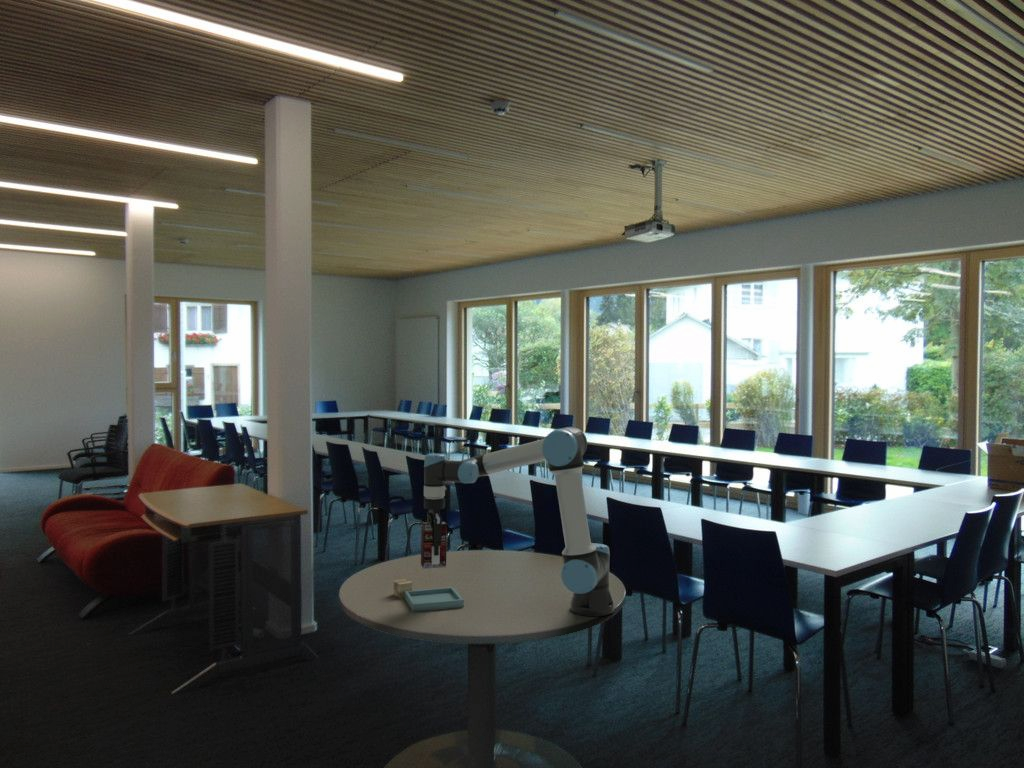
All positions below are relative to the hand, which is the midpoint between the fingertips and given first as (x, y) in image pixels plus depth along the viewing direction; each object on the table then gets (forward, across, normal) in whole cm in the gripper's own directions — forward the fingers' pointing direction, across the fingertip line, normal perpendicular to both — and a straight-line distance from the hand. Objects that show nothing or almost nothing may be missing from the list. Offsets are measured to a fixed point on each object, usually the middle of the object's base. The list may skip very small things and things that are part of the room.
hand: (433, 561), depth 267 cm
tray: (+15, 0, 0) cm, 15 cm away
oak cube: (+15, +12, +9) cm, 21 cm away
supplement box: (+2, 0, 0) cm, 2 cm away
